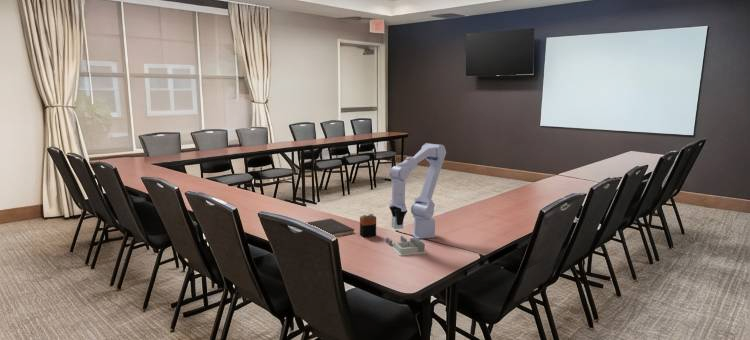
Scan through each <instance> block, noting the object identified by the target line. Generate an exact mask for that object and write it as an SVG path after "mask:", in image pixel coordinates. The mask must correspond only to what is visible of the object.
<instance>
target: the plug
mask: <svg viewBox="0 0 750 340" xmlns="http://www.w3.org/2000/svg"><path fill="white" fill-rule="evenodd" d="M391 227H392V228H393V230H400V229H404V222H403V223H402V225H397V220H396V217H393V216H391Z"/></svg>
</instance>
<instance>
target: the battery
mask: <svg viewBox="0 0 750 340" xmlns="http://www.w3.org/2000/svg"><path fill="white" fill-rule="evenodd" d="M359 235H360V236H361V237H363V238H367V237H368V236H369V237H375V236H377V216H375V215H374V213H369V214H368V215H366V214H364V215H361V216H360V217H359ZM369 237H368V238H369Z"/></svg>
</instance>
